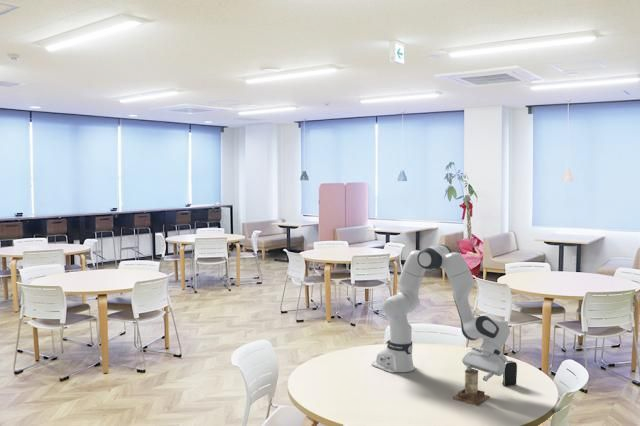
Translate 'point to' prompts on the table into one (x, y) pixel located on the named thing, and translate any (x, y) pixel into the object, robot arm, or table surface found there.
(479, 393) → the dock
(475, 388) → the tall wooden pillar
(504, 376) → the battery charger
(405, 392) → the table surface
